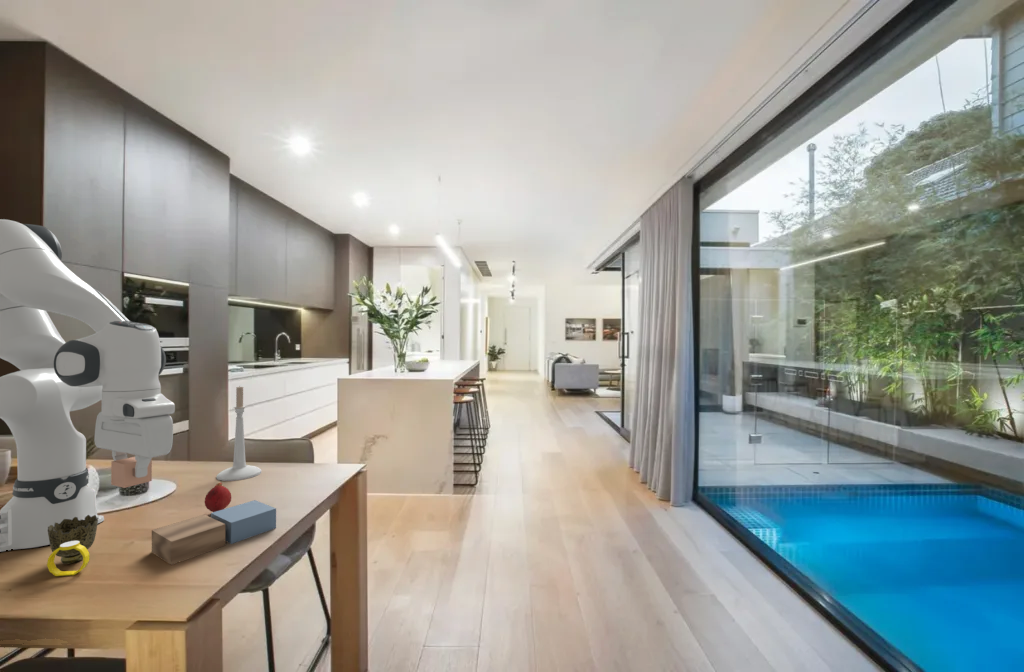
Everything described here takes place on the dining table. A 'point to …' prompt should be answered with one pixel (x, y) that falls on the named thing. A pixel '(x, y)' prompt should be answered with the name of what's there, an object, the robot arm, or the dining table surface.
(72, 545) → the watch
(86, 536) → the cup
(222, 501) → the onion
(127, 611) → the dining table surface
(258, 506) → the slate-blue block
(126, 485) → the terracotta cube
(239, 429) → the candlestick
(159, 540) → the walnut block
